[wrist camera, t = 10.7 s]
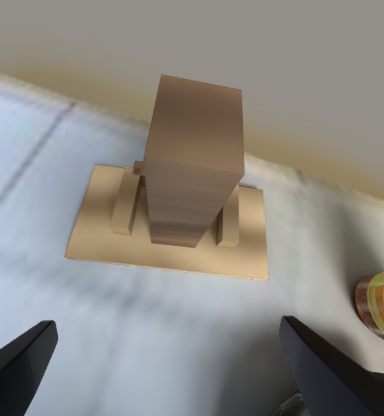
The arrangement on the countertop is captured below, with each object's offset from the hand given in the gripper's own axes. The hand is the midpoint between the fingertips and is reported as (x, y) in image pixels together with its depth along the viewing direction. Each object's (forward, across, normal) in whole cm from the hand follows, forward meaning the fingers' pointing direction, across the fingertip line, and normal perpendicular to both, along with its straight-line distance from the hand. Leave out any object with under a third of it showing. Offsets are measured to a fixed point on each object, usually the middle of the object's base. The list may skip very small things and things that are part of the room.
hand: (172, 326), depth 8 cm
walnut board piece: (+13, 0, 0) cm, 13 cm away
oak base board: (+14, 0, 0) cm, 14 cm away
